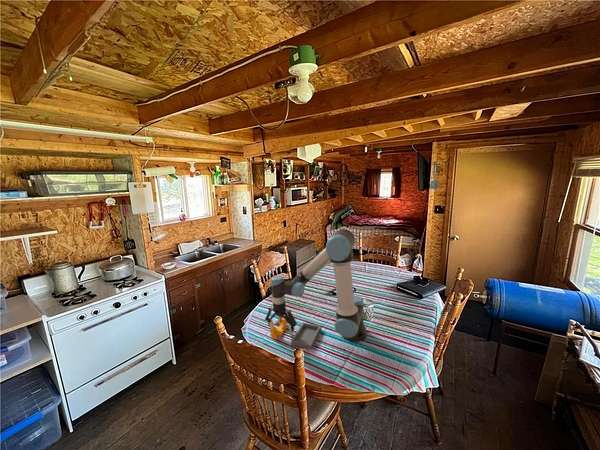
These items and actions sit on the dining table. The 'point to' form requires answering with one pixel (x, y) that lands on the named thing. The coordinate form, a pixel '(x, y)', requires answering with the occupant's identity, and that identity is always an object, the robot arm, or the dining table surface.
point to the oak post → (279, 320)
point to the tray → (306, 336)
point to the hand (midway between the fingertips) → (281, 332)
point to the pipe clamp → (278, 329)
